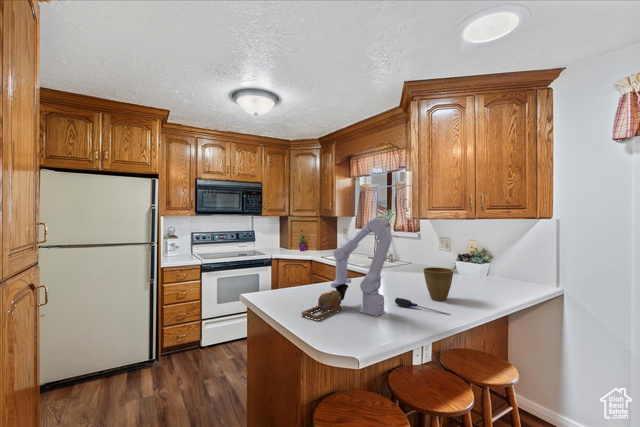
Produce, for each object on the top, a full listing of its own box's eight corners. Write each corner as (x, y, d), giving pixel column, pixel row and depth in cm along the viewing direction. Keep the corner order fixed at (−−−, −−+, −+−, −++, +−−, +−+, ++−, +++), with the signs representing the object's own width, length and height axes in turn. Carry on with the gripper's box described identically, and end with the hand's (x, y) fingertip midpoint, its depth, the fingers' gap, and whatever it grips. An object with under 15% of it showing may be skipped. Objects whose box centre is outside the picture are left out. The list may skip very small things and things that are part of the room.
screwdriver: (451, 314, 136) (451, 306, 136) (449, 316, 133) (450, 308, 133) (396, 304, 151) (396, 296, 151) (393, 305, 148) (393, 298, 148)
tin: (322, 314, 135) (322, 295, 135) (316, 312, 137) (317, 294, 137) (342, 306, 146) (342, 289, 146) (337, 305, 148) (337, 288, 148)
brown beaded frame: (341, 310, 140) (341, 306, 140) (317, 321, 126) (317, 316, 126) (326, 306, 146) (326, 302, 146) (301, 316, 132) (301, 311, 132)
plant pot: (447, 295, 166) (448, 267, 166) (457, 304, 151) (457, 272, 151) (420, 295, 167) (420, 266, 167) (427, 303, 153) (427, 271, 153)
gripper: (343, 269, 156) (342, 295, 156) (326, 273, 145) (326, 301, 145) (354, 270, 152) (354, 297, 152) (337, 275, 140) (337, 304, 140)
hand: (341, 299), depth 148 cm, fingers closed
